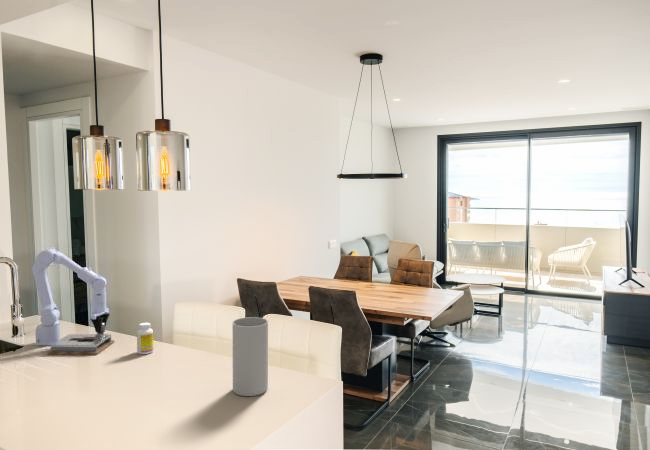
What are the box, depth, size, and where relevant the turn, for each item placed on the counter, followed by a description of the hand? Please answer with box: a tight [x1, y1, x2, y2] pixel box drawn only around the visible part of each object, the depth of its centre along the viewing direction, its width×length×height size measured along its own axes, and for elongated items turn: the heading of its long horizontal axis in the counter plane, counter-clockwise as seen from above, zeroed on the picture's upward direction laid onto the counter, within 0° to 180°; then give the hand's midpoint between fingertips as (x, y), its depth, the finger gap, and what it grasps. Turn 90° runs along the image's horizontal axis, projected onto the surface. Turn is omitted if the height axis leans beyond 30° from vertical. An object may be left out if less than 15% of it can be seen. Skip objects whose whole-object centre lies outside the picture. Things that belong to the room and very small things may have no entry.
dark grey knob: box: [95, 322, 106, 334], centre depth 224 cm, size 6×6×8 cm
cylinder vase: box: [232, 316, 269, 397], centre depth 167 cm, size 12×12×25 cm
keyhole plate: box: [50, 333, 112, 352], centre depth 211 cm, size 20×15×3 cm
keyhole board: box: [46, 339, 115, 356], centre depth 211 cm, size 22×17×1 cm
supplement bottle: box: [136, 322, 154, 355], centre depth 206 cm, size 7×7×13 cm
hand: (100, 330), depth 224 cm, fingers closed on dark grey knob, 4 cm apart
